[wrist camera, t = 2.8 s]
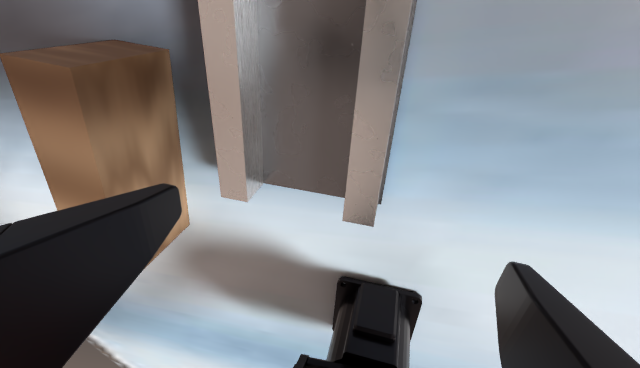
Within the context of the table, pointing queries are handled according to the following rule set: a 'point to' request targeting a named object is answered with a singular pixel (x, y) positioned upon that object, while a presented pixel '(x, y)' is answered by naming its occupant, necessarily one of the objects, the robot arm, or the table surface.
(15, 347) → the robot arm
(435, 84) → the table surface
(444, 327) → the table surface
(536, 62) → the table surface
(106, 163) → the tall wooden block
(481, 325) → the table surface
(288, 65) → the door track
